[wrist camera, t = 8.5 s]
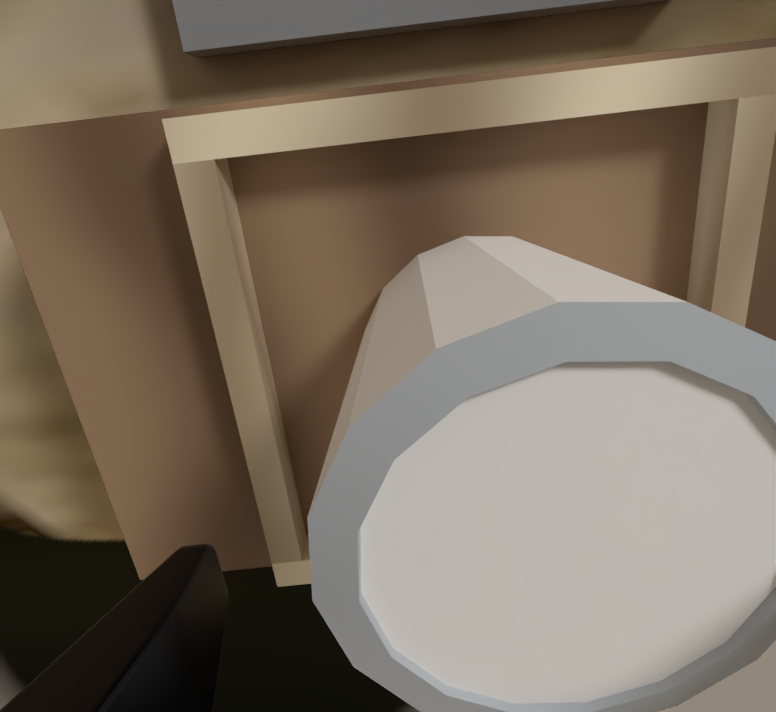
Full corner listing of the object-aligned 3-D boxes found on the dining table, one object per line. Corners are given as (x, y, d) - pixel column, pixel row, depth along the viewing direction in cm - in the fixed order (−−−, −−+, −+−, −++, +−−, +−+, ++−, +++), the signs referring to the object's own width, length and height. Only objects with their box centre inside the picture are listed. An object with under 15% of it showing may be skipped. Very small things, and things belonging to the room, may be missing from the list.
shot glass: (432, 510, 15) (476, 798, 9) (279, 313, 13) (183, 506, 6) (664, 385, 14) (923, 615, 7) (541, 140, 11) (758, 159, 5)
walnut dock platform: (791, 47, 15) (1026, 4, 10) (731, 419, 20) (868, 532, 14) (89, 130, 16) (-65, 133, 10) (192, 477, 20) (125, 608, 15)
